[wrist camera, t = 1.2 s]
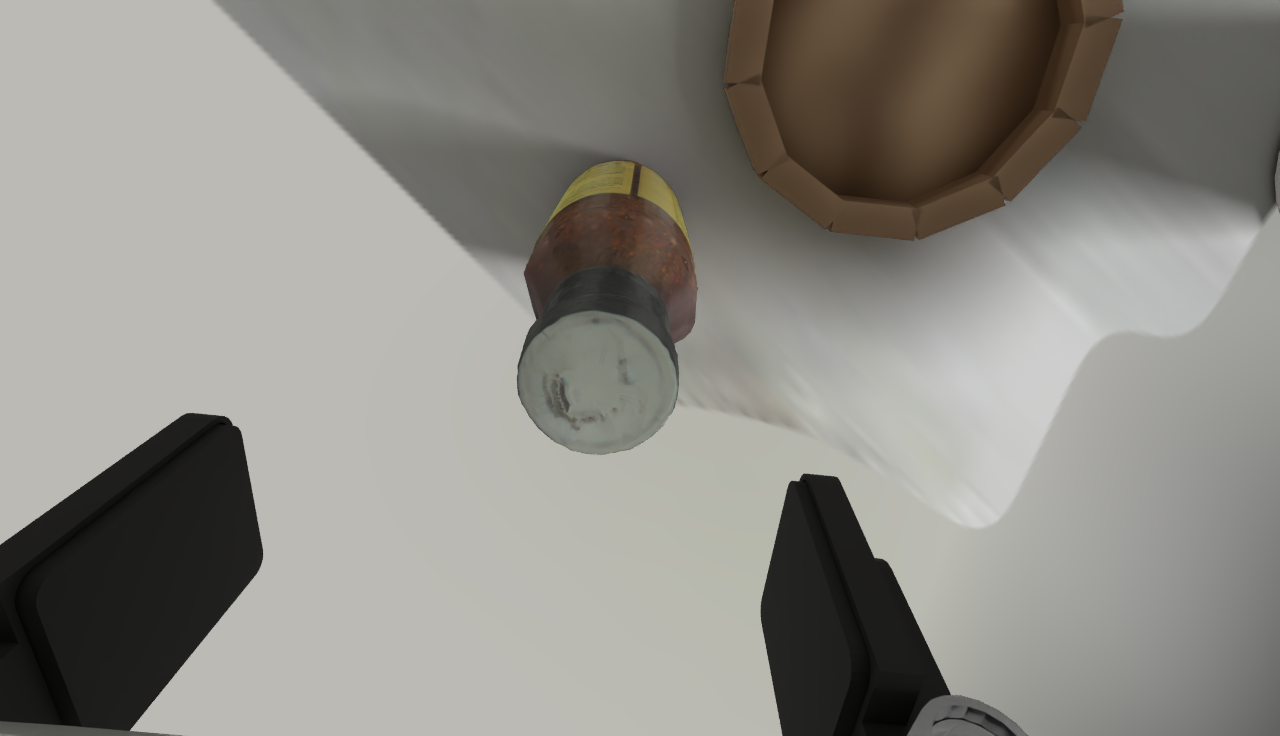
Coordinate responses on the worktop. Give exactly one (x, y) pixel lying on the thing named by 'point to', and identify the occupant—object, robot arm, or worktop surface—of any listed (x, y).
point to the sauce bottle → (608, 311)
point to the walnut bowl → (911, 102)
